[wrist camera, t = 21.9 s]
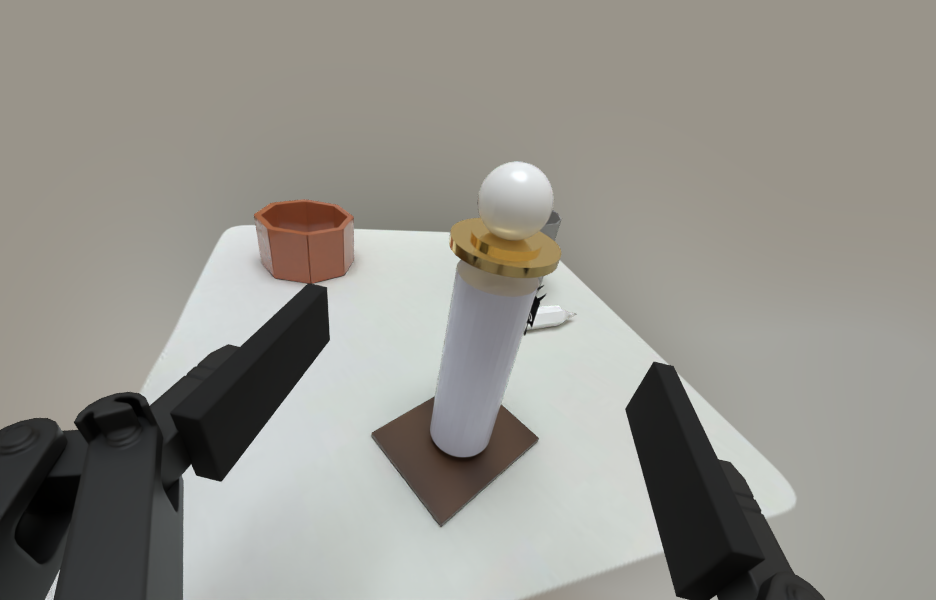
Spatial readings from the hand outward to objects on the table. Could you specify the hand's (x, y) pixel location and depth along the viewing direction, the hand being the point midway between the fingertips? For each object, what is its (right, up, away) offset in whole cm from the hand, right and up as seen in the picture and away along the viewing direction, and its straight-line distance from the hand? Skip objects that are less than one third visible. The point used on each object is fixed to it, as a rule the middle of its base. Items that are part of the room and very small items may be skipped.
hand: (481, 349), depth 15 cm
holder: (-20, +7, +31) cm, 37 cm away
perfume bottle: (-1, -8, +13) cm, 15 cm away
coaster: (-1, -9, +13) cm, 16 cm away
